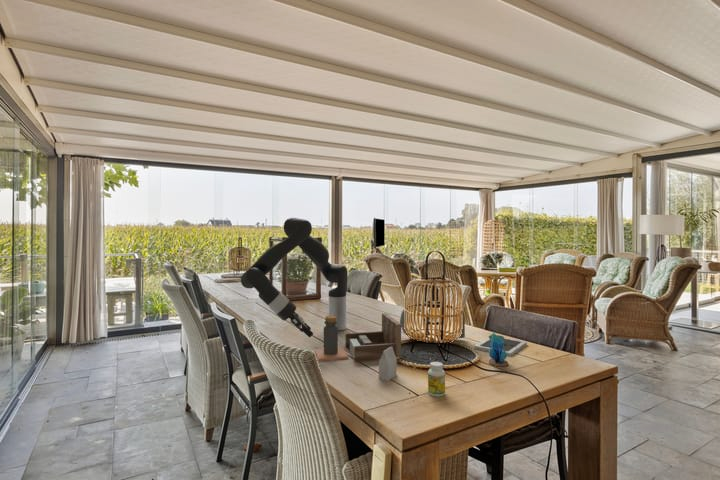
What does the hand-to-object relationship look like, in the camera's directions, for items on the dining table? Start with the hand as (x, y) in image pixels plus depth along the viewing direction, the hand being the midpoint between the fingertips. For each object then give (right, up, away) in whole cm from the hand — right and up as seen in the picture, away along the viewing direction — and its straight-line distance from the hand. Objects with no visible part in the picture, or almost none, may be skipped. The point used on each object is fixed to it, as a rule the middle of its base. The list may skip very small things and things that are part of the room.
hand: (310, 332), depth 162 cm
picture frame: (+83, -10, +14) cm, 85 cm away
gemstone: (+74, -10, -8) cm, 75 cm away
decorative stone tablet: (+54, -9, +26) cm, 61 cm away
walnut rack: (+25, -10, +6) cm, 28 cm away
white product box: (+30, -11, -21) cm, 38 cm away
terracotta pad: (+8, -10, +2) cm, 13 cm away
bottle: (+8, -9, +3) cm, 12 cm away
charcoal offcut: (+22, -10, +6) cm, 25 cm away
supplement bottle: (+45, -11, -35) cm, 58 cm away
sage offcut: (+18, -10, +5) cm, 22 cm away
